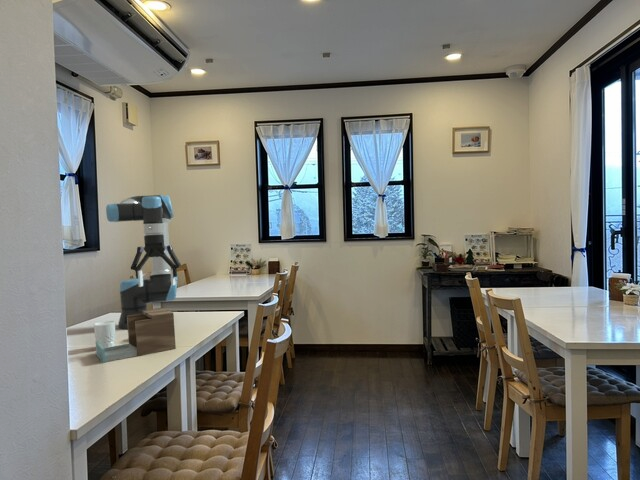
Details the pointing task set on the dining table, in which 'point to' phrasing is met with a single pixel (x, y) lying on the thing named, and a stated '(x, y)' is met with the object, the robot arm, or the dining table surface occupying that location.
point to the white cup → (105, 333)
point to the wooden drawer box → (152, 331)
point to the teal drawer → (115, 352)
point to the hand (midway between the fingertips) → (157, 285)
